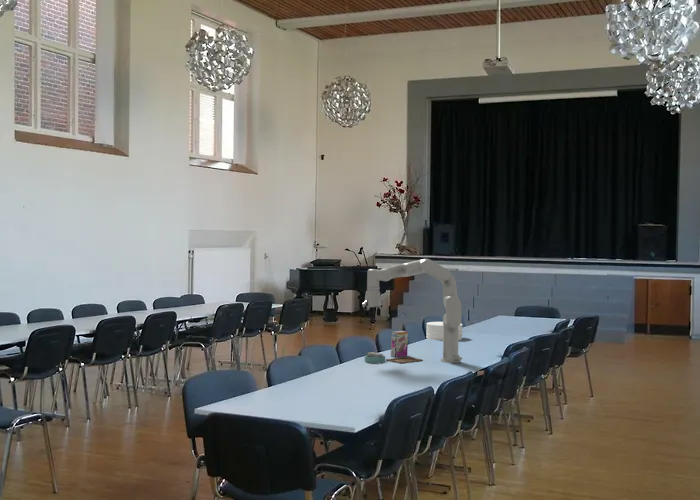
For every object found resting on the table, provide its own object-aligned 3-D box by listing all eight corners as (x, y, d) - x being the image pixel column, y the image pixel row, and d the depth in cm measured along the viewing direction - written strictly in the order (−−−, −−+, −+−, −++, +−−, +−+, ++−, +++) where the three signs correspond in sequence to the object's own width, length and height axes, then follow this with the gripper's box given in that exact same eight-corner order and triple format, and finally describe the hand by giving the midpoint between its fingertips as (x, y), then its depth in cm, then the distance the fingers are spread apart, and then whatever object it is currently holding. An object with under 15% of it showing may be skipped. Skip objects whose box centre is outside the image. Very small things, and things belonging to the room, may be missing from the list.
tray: (422, 361, 473) (422, 359, 473) (401, 364, 461) (401, 362, 461) (406, 358, 484) (406, 356, 484) (386, 361, 472) (386, 359, 472)
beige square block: (377, 360, 471) (377, 353, 471) (371, 360, 469) (372, 353, 469) (372, 359, 475) (372, 352, 475) (367, 360, 472) (367, 352, 472)
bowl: (388, 362, 469) (389, 356, 469) (374, 363, 461) (374, 358, 461) (375, 359, 479) (375, 353, 479) (360, 361, 471) (360, 355, 471)
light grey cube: (382, 361, 468) (382, 354, 468) (377, 362, 465) (377, 354, 465) (378, 360, 471) (378, 353, 471) (372, 361, 468) (372, 353, 468)
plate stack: (443, 335, 607) (443, 320, 607) (469, 338, 586) (470, 324, 586) (418, 337, 589) (419, 323, 589) (445, 341, 568) (445, 326, 568)
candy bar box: (395, 357, 486) (396, 332, 486) (390, 356, 490) (390, 331, 490) (408, 356, 494) (408, 331, 493) (402, 355, 497) (403, 330, 497)
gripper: (379, 288, 480) (378, 314, 480) (358, 289, 468) (358, 316, 469) (387, 288, 474) (386, 315, 474) (366, 289, 463) (366, 317, 463)
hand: (372, 316), depth 471 cm, fingers open, 9 cm apart
